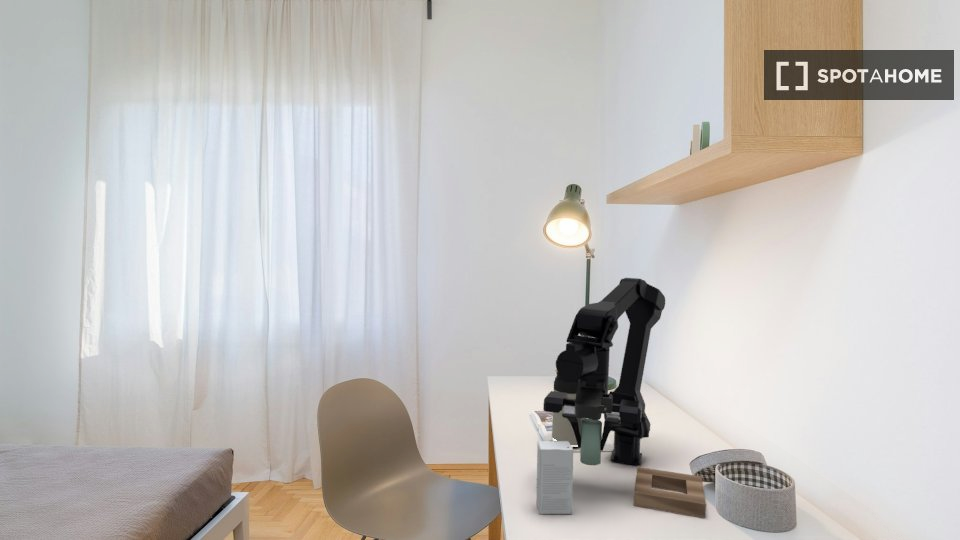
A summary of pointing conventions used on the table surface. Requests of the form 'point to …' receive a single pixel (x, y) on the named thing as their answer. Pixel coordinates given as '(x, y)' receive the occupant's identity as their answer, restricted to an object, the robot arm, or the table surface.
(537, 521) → the table surface
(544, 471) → the skincare box
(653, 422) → the table surface
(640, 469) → the walnut holder
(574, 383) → the travel mug
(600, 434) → the green peg
